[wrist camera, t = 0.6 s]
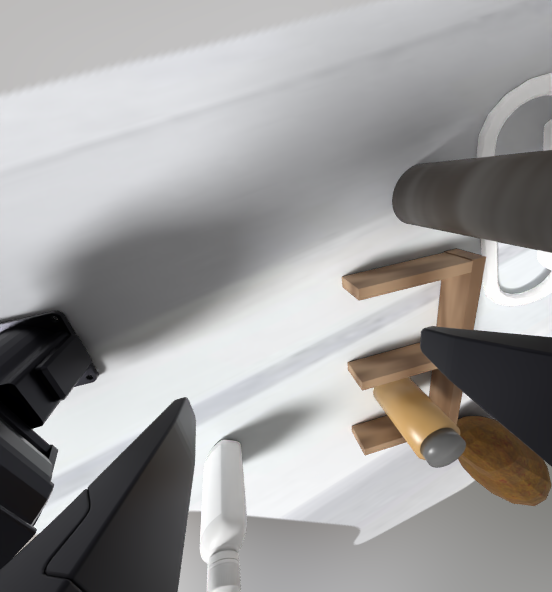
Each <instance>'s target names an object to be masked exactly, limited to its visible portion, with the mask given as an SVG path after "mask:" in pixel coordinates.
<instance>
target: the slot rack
mask: <svg viewBox="0 0 552 592" xmlns="http://www.w3.org/2000/svg"><path fill="white" fill-rule="evenodd" d="M485 261H486V256H482V255H479V254H475V253H471V252H467V251H464V250H460V249H452V250H448V251H444V253H440V254H435V255H431V256H427V257H423V258H419V259H414V260H410V261H406V262H402V263H398V264H393V265H389V266H385V267H381V268H377V269H372V270H368V271H364V272H360V273H356V274H351V275H347V276H343V277H342V285H343V288H344V289H345V290H347V291H348V292H349V293H350V294H352V295H353V296H354V297H355V298H356V299H358V300H363V299H367V298H371V297H375V296H379V295H383V294H387V293H391V292H395V291H399V290H403V289H407V288H411V287H415V286H419V285H423V284H427V283H431V282H435V281H439V280H441V289H440V299H439V308H438V317H437V327H446V328H457V329H467V330H473V329H474V324H475V318H476V312H477V307H478V301H479V295H480V290H481V284H482V278H483V273H484V267H485ZM431 370H432V374H431V384H430V393H429V398H430V399H431V400H432V401H433V402H434V403H435V404H436V405H437V406H438V407H439V408H440V409H441V410H442V411H443V412H444V413H445V414H446V415H447V416H448V417H449V418H450V419H451V420H452V421H453V422H454V423H455V425H456V426H457V420H458V414H459V409H460V403H461V397H462V392H463V391H461V390H460V389H459V388H458V387H457V386H456V385H454V384H453V383H452V382H451V381H450V380H449V379H448V378H447V377H446V376H445V375H444V374H443V373H442V372H441V371H440V370H439V369H438V368H437V367H436V366H435V365H434V364H433V363H432V362H431V361H430V360H429V359H428V358H427V357H426V356H425V355H424V354H423V353H422V351H421V348H420V343H416V344H412V345H409V346H405V347H402V348H398V349H394V350H391V351H387V352H384V353H380V354H376V355H373V356H369V357H366V358H362V359H358V360H355V361H351V362H348V371H349V372H350V373H351V375H352V376H353V378H354V379H355V381H356V382H357V384H358V385H359V386H360V388H361V389H362V391H363V390H366V389H369V388H373V387H376V386H380V385H383V384H387V383H390V382H393V381H397V380H400V379H404V378H407V377H410V376H414V375H417V374H421V373H424V372H428V371H431ZM352 432H353V434H354V436H355V438H356V440H357V442H358V444H359V445H360V447H361V449H362V451H363V453H364V455H368V454H371V453H374V452H377V451H380V450H383V449H387V448H390V447H393V446H396V445H399V444H402V443H405V442H407V441H406V440H405V438H404V437H403V436H402V434H401V433H400V432H399V430H398V429H397V428H396V426H395V425H394V423H393V422H392V421H391V419H390V418H389V417H388V415H387V416H383V417H380V418H377V419H374V420H370V421H367V422H364V423H361V424H357V425H354V426H352Z"/></svg>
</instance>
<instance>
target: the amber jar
mask: <svg viewBox="0 0 552 592" xmlns="http://www.w3.org/2000/svg"><path fill="white" fill-rule="evenodd" d="M373 395H374V397H375V399H376V400H377V402H378V403H379V404H380V406H381V407H382V408H383V410H384V411H385V413H386V414H387V415H388V417H389V418H390V419H391V421H392V422H393V423H394V425H395V426H396V428H397V429H398V430H399V432H400V433H401V434H402V436H403V437H404V438H405V440H406V441H407V443H408V444H409V445H410V447H411V448H412V449H413V451H414V452H415V454H416V455H417V456H418V457H419V458H420V459H423V460H426V461H427V462H428V463H429V465H430V466H432V467H436V468H438V467H444V466H447V465H449V464H451V463H452V462H454V461H455V460H457V459H458V458H459V457H460V456H461V455H462V453H463V452H464V450H465V448H466V442H465V440H464V439H463V438H462V437H461V436H460V429H459V428H458V427H457V426H456V425H455V423H454V422H453V421H452V420H451V419H450V418H449V417H448V416H447V415H446V414H445V413H444V412H443V411H442V410H441V409H440V408H439V407H438V406H437V405H436V404H435V403H434V402H433V401H432V400H431V399H430V398H429V397H428V396H427V395H426V394H425V393H424V392H423V391H422V390H421V389H420V388H419V387H418V386H417V385H416V384H415V383H414V382H413V381H412V380H411V379H410V378H409V377H407V378H404V379H400V380H397V381H393V382H390V383H387V384H383V385H380V386H376V387H374V391H373Z"/></svg>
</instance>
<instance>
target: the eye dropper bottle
mask: <svg viewBox="0 0 552 592" xmlns="http://www.w3.org/2000/svg"><path fill="white" fill-rule="evenodd" d="M246 527H247V514H246V499H245V487H244V474H243V462H242V450H241V444H240V442H238V441H232V440H221V441H219V442H218V443H217V444H216V445H215V446H214V447H213V448H212V449H211V451H210V452H209V454H208V455H207V458H206V460H205V465H204V476H203V494H202V514H201V533H200V554H201V557H202V559H203V560H204V561H205V562H206V563H208V571H207V592H240V590H241V584H240V565H239V554H238V553H239V551H240V549H241V547H242V544H243V541H244V538H245V534H246Z"/></svg>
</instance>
